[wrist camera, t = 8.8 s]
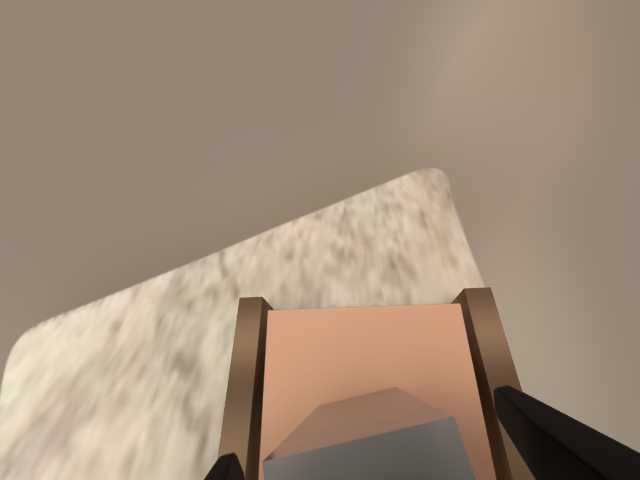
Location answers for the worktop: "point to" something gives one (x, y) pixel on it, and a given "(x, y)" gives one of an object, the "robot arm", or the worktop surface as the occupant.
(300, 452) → the gray rectangular block
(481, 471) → the trapdoor
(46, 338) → the worktop surface
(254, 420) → the brown bracket
